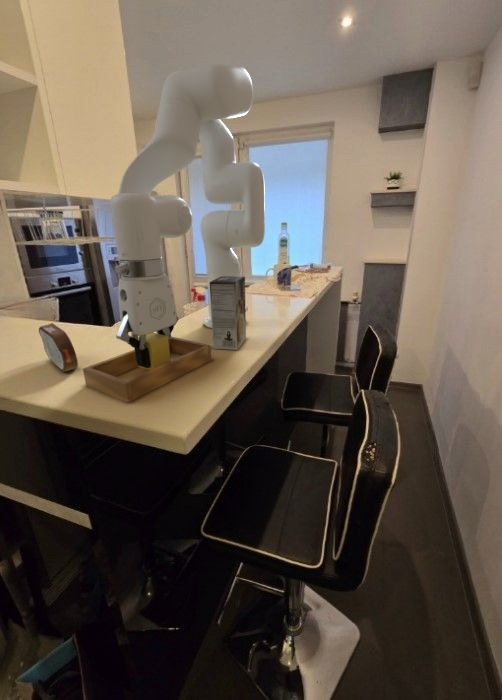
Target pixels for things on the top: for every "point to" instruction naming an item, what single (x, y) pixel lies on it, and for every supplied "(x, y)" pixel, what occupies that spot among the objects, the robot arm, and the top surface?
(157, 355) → the block
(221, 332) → the coffee box
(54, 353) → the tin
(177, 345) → the wooden tray
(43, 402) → the top surface
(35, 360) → the top surface
